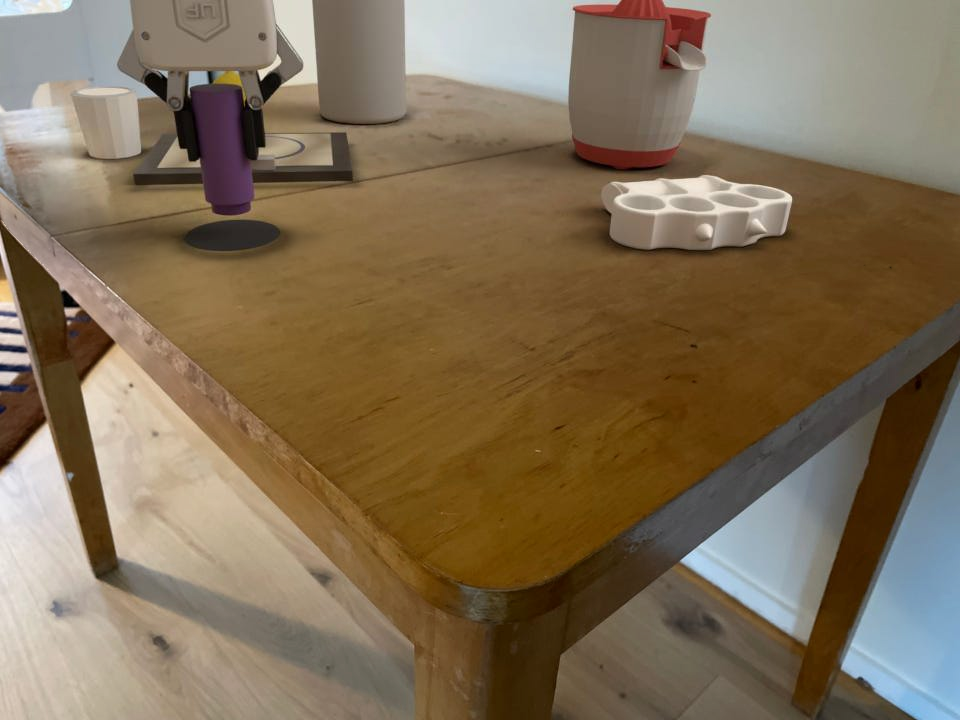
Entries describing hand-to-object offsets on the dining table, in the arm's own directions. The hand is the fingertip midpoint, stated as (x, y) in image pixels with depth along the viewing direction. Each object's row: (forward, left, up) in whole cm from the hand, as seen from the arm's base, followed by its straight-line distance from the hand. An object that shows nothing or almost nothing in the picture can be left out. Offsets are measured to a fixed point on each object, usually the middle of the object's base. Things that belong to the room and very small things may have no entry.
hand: (224, 154), depth 64 cm
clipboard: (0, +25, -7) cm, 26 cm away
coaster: (0, 0, -7) cm, 7 cm away
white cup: (-16, +31, -7) cm, 36 cm away
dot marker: (0, 0, -5) cm, 5 cm away
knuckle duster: (+42, -1, -7) cm, 43 cm away
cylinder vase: (+14, +51, -7) cm, 53 cm away
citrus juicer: (+45, +24, -7) cm, 51 cm away
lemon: (-3, +40, -7) cm, 41 cm away
